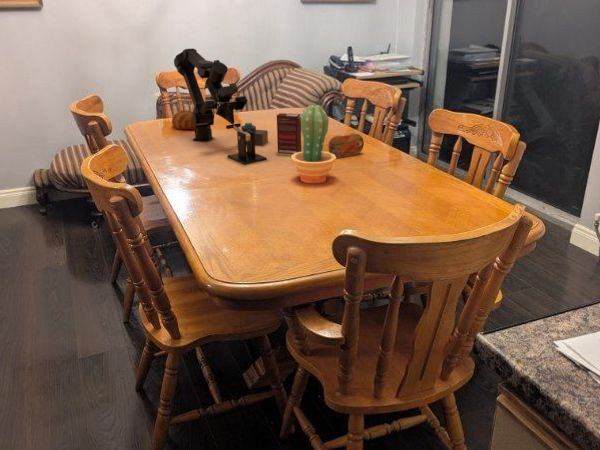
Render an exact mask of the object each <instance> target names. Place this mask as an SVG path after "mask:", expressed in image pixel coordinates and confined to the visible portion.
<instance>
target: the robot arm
mask: <svg viewBox="0 0 600 450" xmlns="http://www.w3.org/2000/svg"><path fill="white" fill-rule="evenodd" d="M173 65H174V67H175V68H176V70H177V73H179V74H180V76H182V77H183V80H184V82H185V84H186V88H187V90H188V93H189V96H190V99H191V102H192V105H193V108H192V111H191V112H192V114H193V115H192V118H191V120H190V122H191V126H193V127H194V128H195V129H194V137H195V138H193V141H197V142H209V141H210V140H213V139H214V137H213V131H212V130H213V129H212V127H211V126H214V124H215V116H219V117H221V118H222V119H224V120H225V121H227V122H228V123H229V124H230V125H232V124H235V115H234V111H241V110H244V108H245V107H246V105H247V103H248V99H247V96H245V95H241V96H236V97H235V99H234V100H232V98H233V95H236V93H238V92H239V88H238V86H237V85H236V83H231V84H230V85H224V86H223V84H222V83H223V82H224V80H225V78H226V75H227V73H228V71H229V70H228V66H227V65H226V64H225V63H223V62H221V61H220V59H216V60H214V61H212V60H207V59H206V58H204V56H202V55H201V54H200V53H198V51H197V49H196V48H185V49H183V50H182V51H181V52H180V53H177V54H176V55H175V57H174V59H173ZM195 69H197V71H196V73H197V75H198V76H199V78H200V79H205V82H204V89H207V90H208V92H209V94H210V96H209V97H210V100H205V99H204V97H203V94H202V91H201V88H200V86H199V85H200V84H199V83H198V82H199V81H198V79H197V77H196V75H195V74H196V73H195ZM213 110H215V113H214V111H213Z"/></svg>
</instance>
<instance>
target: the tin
mask: <svg viewBox="0 0 600 450" xmlns="http://www.w3.org/2000/svg"><path fill="white" fill-rule="evenodd" d="M364 145H365V142H364V138H363V137H362V135H361V134H359V133H347V134H340V135H335V136H333V137H332V138H331V139H330V140H329V141H328V147H327V148H328V152H329V153H332V154H334V155H335V156H336V159H337V158H338V159H342V158H347V157H352V156H358V155H359V154H360V153H362V151H363V149H364Z"/></svg>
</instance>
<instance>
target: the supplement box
mask: <svg viewBox="0 0 600 450" xmlns="http://www.w3.org/2000/svg"><path fill="white" fill-rule="evenodd" d="M300 115H301V113H291V112H289V113H287V112H279V113H278V114H276V138H277V141H276V142H277V155H278V156H279V155H280V156H289V157H291V155H293V154H295V153H297V152H302V131H301V117H299V116H300Z"/></svg>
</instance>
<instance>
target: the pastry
mask: <svg viewBox="0 0 600 450" xmlns="http://www.w3.org/2000/svg"><path fill="white" fill-rule="evenodd" d="M192 112H193V111H192V110H187V109H186V110H185V109H184V110H183V109H180V110H178V111H177V112H175V113H174V114H173V116H172V117H171V124H172V126H173V127H174V128H175V129H176V130H195V128H194V127H193V126H191V122H190V120H191V118H192V115H193V114H192Z"/></svg>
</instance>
